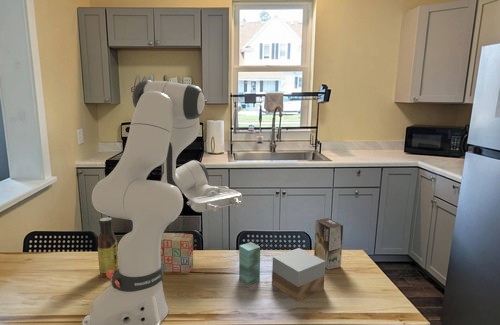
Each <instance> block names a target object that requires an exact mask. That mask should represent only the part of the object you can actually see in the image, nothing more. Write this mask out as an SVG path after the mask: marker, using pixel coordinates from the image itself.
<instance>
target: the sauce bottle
mask: <svg viewBox="0 0 500 325" xmlns="http://www.w3.org/2000/svg"><path fill="white" fill-rule="evenodd" d="M98 223H99V226H100V227H99V229H100V231H99V232H100V233H99V235H98V238H97V240H96V241H97V242H96V243H97V256H98V266H99V267H98V271H99V275H100V277H102V278H108V277H107V276H106V273H107V271H108V270H113V271H114V273H116V272H117V270H118V268H119V262H118V239H117V237H116V235H115V233H114V230H113V217H110V216H107V217H102V218H100V219H99V220H98Z"/></svg>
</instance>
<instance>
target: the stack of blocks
mask: <svg viewBox="0 0 500 325" xmlns="http://www.w3.org/2000/svg"><path fill="white" fill-rule="evenodd" d="M161 263H162V267H163V273H164V272H166V273H169V272H170V273H180V274H182V273H184V274H190V273H191V270H192V268H193V266H194V235H193V234H192V233H183V232H181V233H180V232H177V233H176V232H163V235H162V239H161Z"/></svg>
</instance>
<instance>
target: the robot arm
mask: <svg viewBox="0 0 500 325" xmlns="http://www.w3.org/2000/svg"><path fill="white" fill-rule="evenodd" d="M132 104H133V107H134V112H133V114H132V118H131V122H130V126H129V131H128V135H127V139H126V143H125V146H124V150H123V153H122V155H121V157H120V159H119V161H118V162H117V164H116V166H115V167H114V168H113V169H112V171H111V172H110V173H109V174H108V175H106V176H105V177H104V178H102V179H100V180H99V181H98V182H97V183H96V184H95V186H94V187H93V190H92V193H91V204H92V207H93V208H94V209H95V210H96V212H99V213H101V214H103V215H106V216H107V217H109V218H114V219H115V218H116V219H123V220H131V222H132V230H131V231H130V232H128V233H126V234H124V235H123V236H122V237H121V239H120V240H119V242H118V243H117V249H118V265H119V268H118V270H117V272H116V273H114V271H113V270H108V271H107V273H106V276H107V277H106V278H108V280H111V284H110V285H109V286H108V287H107V288H105V290H104V291H102V293H100V295H98V296H97V297H96V298H95V299H94V300H93V302H92V304H91V308H90V314H88V315H85V317H83V320H82V322H81V325H161V323H162V322H163V321H164V320H165V319H166V317H167V315H168V313H169V306H168V303H167V300H166V297H165V293H164V288H163V287H164V286H163V282H164V272H163V267H162V263H161V239H162V235H163V233H165V230H166V229H167V227H168V226H170V225H171V223H173V222H174V221H175V220H177V219H178V217H179V216H180V214H181V213H182V210H183V208H184V198H183V195H184V196H185V198H187V200H188V201H187V202H186V204H187V205H188V206H189V207H190V208H191V209H192V210H193V211H194V212H196V213H203V212H207V211H213V212H218V211H219V210H220V209H221V208H224V207H230V206H235V207H240V206H241V204H242V202H243V194H242V193H241V192H239V191H237V190H235V189H231V188H230V187H228V186H225V185H224V186H223V185H222V186H215V185H209V182H210V180H209V178H210V177H209V172H208V170H207V168H206V166H205V165H204V164H203V163H201V162H200V161H198V160H196V159H192V160H190V161H188V162H186V163H184V164H182V165H181V166H179V167H177V159H178V156H179V155H180V154H181V153H182V151H183V150H184V149H186V148H187V147H188V146H189V145H191V144H192V143H193V142H194V141H195V140H196V139H197V137H198V136H199V133H200V128H201V127H200V125H201V124H200V118H199V117H200V116H202V115H203V112H204V109H205V105H206V101H205V94H204V91H203V90H202V89H201V88H200V87H199V86H197V85H195V84H186V83H179V82H174V81H168V80H166V81H165V80H153V81H152V80H142V81H139V82H138V83H137V84H136V85H135V86H134V88H133V91H132ZM160 166H161V168H160V169H161V176H160V180H151V179H147V178H148V176H149V175H150V173H151V172H152V171H153V170H154V169H156V168H157V167H160ZM176 167H177V168H176Z"/></svg>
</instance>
